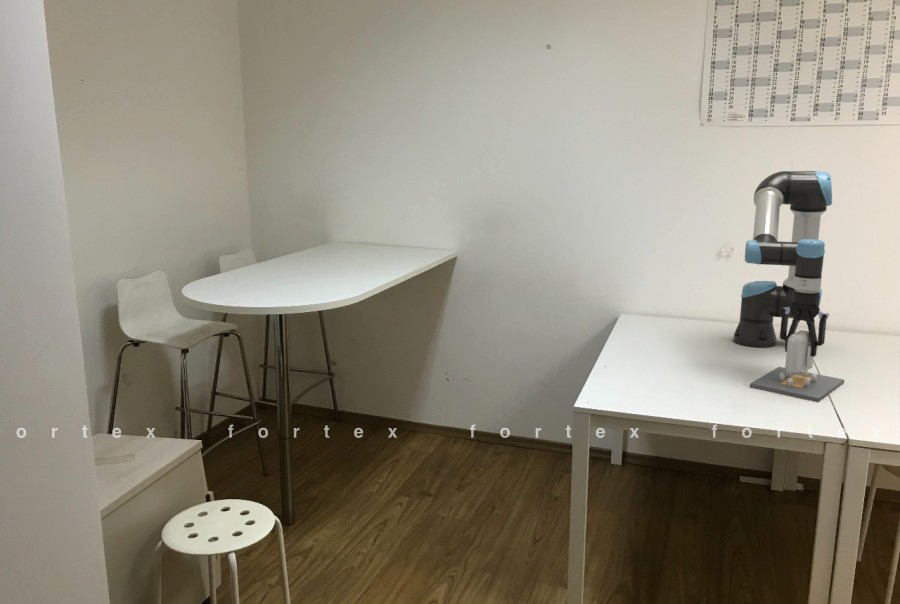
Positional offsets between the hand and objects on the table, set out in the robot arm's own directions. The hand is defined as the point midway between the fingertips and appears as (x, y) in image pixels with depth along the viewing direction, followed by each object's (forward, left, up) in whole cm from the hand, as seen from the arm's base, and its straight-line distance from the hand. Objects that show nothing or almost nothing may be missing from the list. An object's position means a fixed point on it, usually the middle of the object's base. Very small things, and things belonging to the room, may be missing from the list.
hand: (799, 364), depth 227 cm
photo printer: (0, 0, -2) cm, 2 cm away
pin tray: (0, 0, -7) cm, 7 cm away
